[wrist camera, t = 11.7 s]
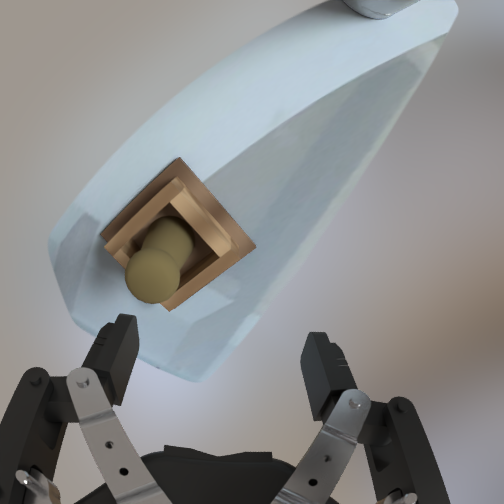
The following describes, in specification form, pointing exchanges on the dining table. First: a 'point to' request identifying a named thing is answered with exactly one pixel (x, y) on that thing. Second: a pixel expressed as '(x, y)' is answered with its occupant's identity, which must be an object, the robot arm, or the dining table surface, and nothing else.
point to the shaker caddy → (195, 214)
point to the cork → (160, 260)
